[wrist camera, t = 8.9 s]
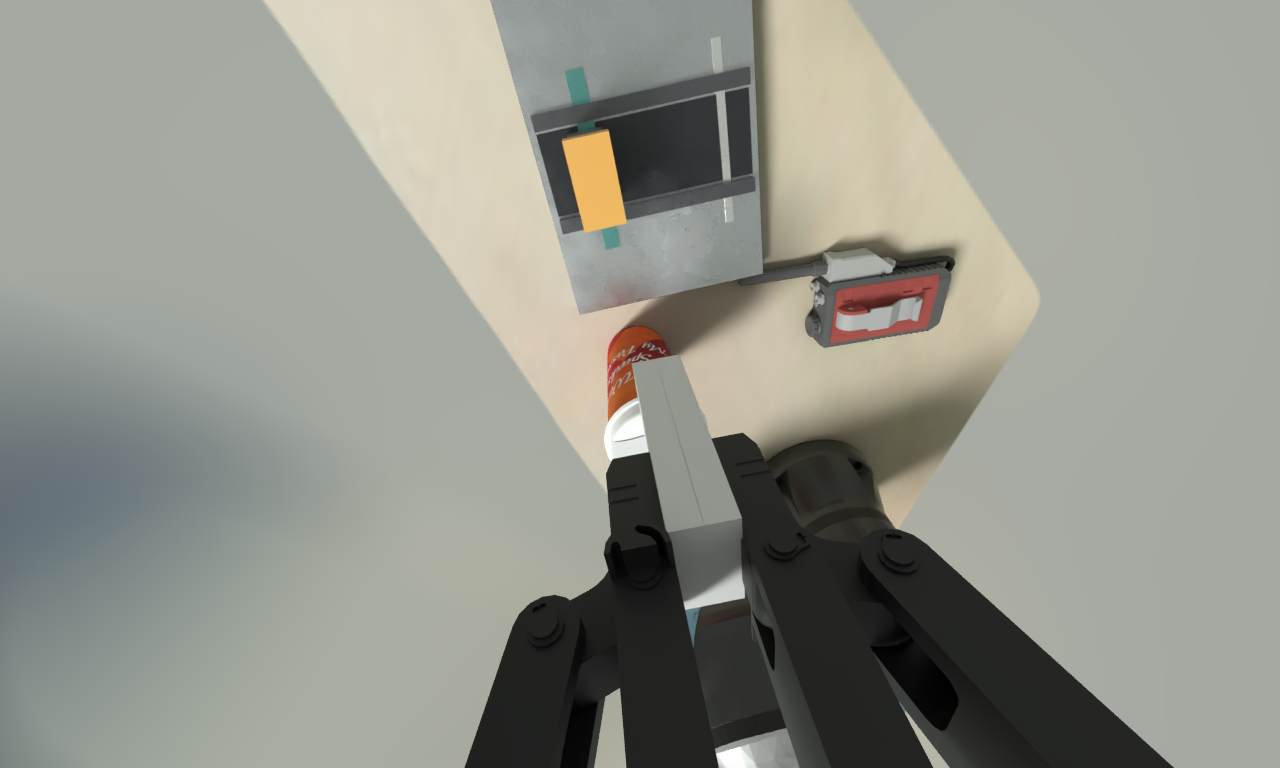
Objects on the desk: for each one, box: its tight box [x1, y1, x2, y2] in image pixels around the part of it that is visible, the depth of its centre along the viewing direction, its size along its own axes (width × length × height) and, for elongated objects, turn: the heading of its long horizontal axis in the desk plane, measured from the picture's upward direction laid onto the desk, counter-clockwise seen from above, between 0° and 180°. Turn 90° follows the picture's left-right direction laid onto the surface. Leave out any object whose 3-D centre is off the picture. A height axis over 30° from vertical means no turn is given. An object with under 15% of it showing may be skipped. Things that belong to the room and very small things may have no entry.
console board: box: [490, 0, 763, 315], centre depth 35 cm, size 22×16×3 cm
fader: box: [562, 126, 627, 233], centre depth 32 cm, size 5×3×6 cm, turn 11°
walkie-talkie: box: [738, 248, 955, 348], centre depth 43 cm, size 9×4×20 cm
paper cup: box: [604, 326, 708, 461], centre depth 40 cm, size 8×8×14 cm
